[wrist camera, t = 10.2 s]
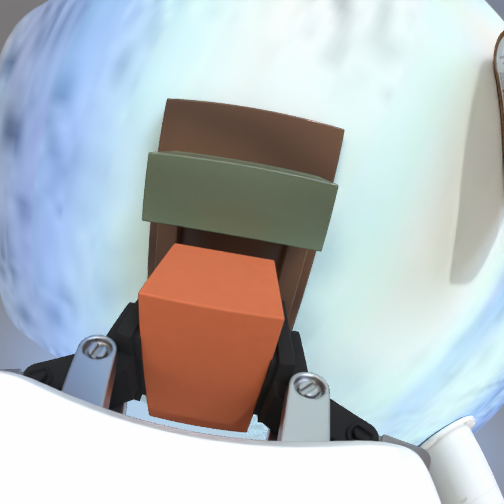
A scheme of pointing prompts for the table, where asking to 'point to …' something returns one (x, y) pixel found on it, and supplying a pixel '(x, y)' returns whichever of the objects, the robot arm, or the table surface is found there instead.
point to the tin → (500, 74)
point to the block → (208, 335)
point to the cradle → (243, 187)
